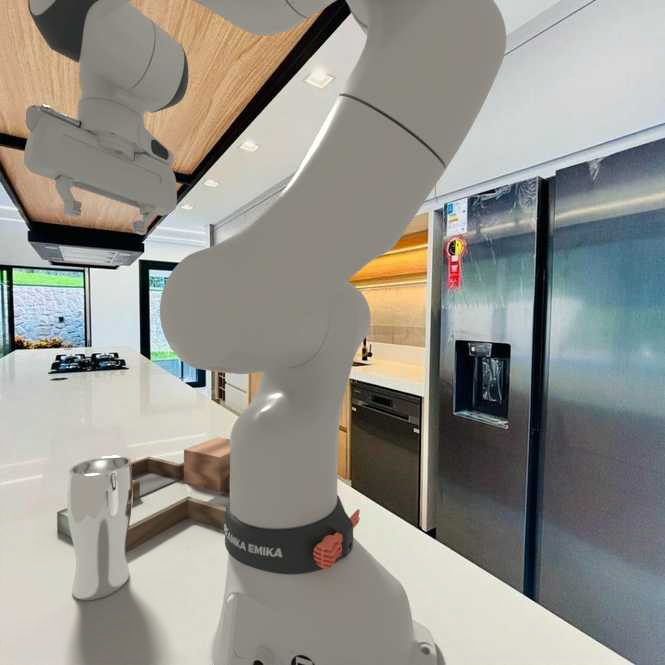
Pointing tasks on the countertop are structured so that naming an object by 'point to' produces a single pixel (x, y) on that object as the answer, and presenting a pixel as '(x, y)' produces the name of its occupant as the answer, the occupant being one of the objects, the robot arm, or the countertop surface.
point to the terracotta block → (208, 464)
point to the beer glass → (100, 524)
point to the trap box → (155, 476)
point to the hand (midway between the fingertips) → (108, 224)
